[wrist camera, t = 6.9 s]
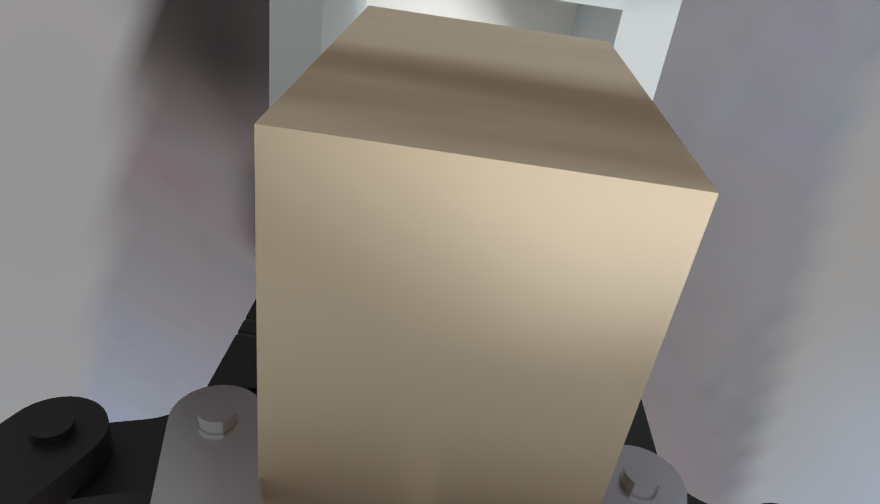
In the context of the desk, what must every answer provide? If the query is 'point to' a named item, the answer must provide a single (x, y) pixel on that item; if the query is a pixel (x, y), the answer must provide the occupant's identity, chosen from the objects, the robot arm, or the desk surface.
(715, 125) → the desk surface
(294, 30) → the bracket board
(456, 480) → the beech rail
